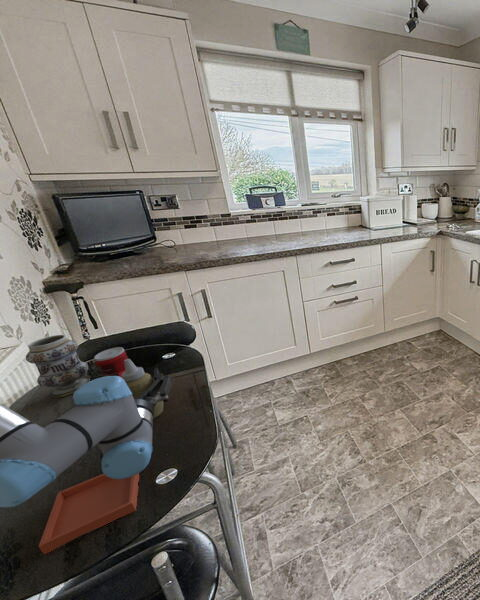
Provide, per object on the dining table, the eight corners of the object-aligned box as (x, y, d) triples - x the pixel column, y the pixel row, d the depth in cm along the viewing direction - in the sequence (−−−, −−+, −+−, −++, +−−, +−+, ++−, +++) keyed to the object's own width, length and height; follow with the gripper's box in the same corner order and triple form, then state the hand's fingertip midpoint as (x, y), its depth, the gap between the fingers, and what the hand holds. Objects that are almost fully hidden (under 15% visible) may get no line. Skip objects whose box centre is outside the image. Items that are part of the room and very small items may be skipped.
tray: (44, 555, 58) (38, 546, 57) (62, 500, 68) (57, 492, 67) (136, 511, 64) (132, 502, 63) (140, 467, 75) (136, 459, 74)
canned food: (135, 371, 115) (123, 344, 112) (136, 381, 110) (123, 352, 106) (107, 381, 111) (94, 353, 107) (107, 391, 105) (92, 362, 101)
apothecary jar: (103, 375, 115) (81, 329, 109) (77, 396, 104) (51, 346, 97) (65, 380, 114) (41, 334, 107) (35, 402, 102) (6, 352, 96)
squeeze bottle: (126, 422, 90) (99, 366, 83) (154, 403, 97) (131, 350, 91) (147, 427, 87) (121, 369, 81) (174, 407, 94) (152, 353, 88)
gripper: (80, 457, 71) (97, 404, 88) (190, 414, 81) (185, 374, 99) (64, 429, 68) (85, 380, 86) (180, 389, 78) (177, 353, 96)
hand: (139, 377), depth 92 cm, fingers open, 8 cm apart
